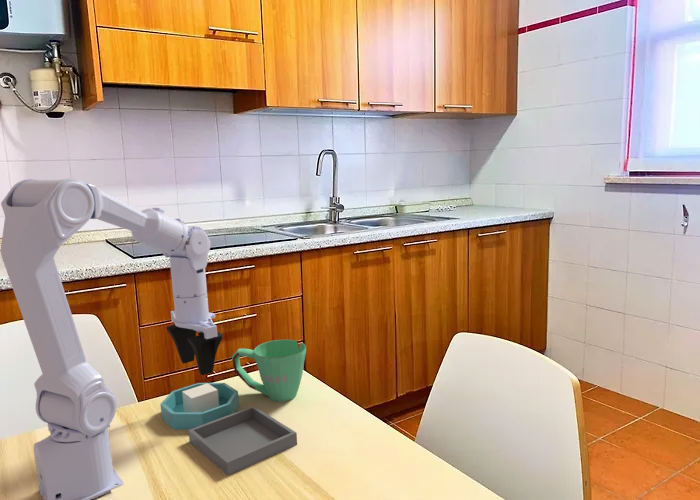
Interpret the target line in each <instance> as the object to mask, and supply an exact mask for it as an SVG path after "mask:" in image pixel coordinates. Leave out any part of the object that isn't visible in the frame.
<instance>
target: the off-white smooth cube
mask: <svg viewBox="0 0 700 500" xmlns="http://www.w3.org/2000/svg"><path fill="white" fill-rule="evenodd" d="M206 383H207V384H204V385H201V386H198V387H195V388H191V389H188V390H185V391H182V395H183V405H184V412H204V411H207V410H210V409H213V408H215V407H218V406H219V399H218V390H217V389H216V388H214V387H213V386H211V385H210V384H208V383H209V382H206Z"/></svg>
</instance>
